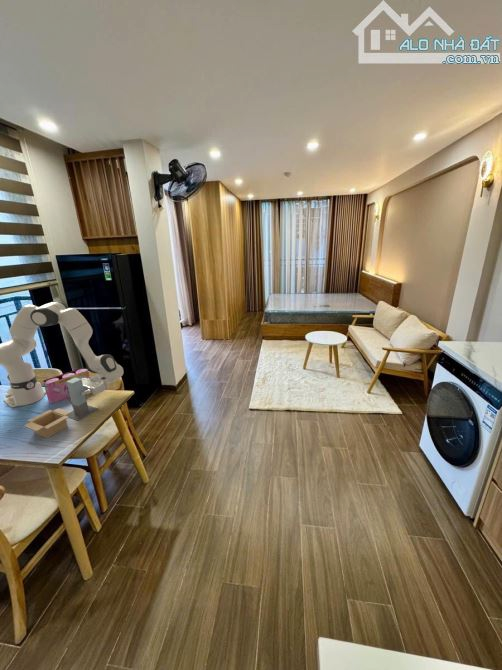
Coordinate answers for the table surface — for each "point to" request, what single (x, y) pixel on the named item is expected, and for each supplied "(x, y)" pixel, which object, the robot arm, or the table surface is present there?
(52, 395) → the pink multipack
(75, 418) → the mat
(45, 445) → the table surface
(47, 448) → the table surface
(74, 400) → the pale upright canister
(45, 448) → the table surface
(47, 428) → the carton
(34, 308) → the robot arm
